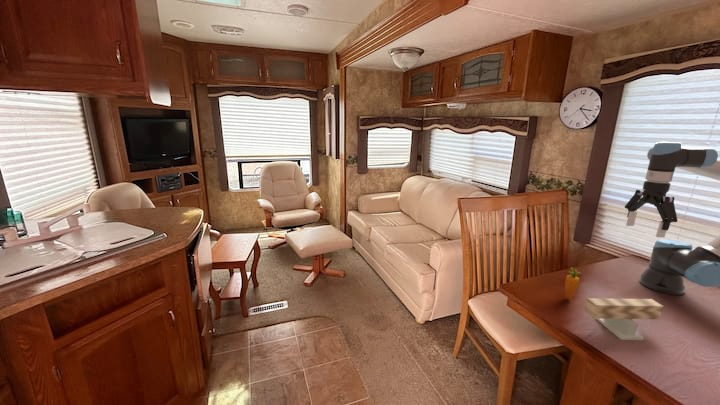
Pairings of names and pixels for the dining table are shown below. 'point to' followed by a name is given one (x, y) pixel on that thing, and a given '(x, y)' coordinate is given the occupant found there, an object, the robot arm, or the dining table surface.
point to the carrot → (571, 284)
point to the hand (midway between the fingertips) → (644, 231)
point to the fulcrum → (622, 328)
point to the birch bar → (623, 308)
